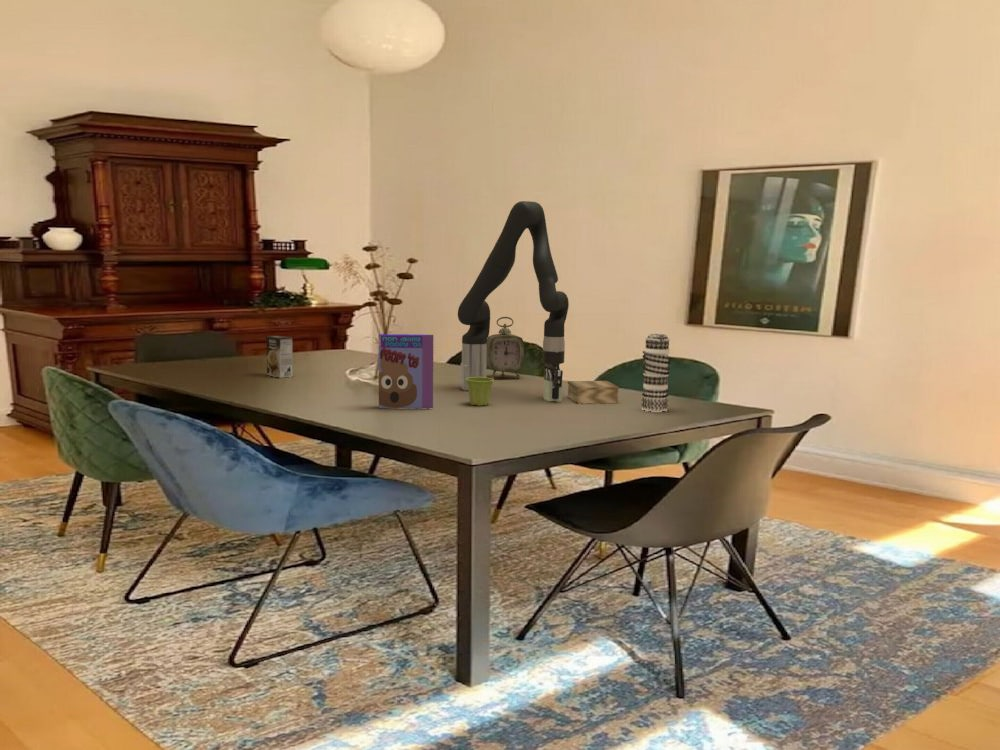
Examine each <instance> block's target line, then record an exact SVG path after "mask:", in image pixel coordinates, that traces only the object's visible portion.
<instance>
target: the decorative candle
mask: <svg viewBox="0 0 1000 750" xmlns="http://www.w3.org/2000/svg"><path fill="white" fill-rule="evenodd" d="M670 341H671V339H670V338H669V337H668V335H666V334H662V333H651V334H649V335H647V338H645V347H644V350H643V351H642V354H643V355H642V358H643V359H644V360H643V361H642V365H643V366H642V369H643V370H644V371H643V372H642V375H643V386H642V387H643V388H641V390H642V393H641V395H642V396H643V397H642V398H641V402H642V403H641V406H642V407H641V410H642V411H643V410H645V411H644V412H648V411H651V412H650V413H663V412H662V411H666V412H668V411H667V410H668V407H669V404H668V402H669V399H668V398H667V397H669V394H668V392H669V388H668V386H669V385H668V377H669V376H670V374H671V373H670V372H669V371H670V370H671V368H670V367H669V365H670V364H671V363H672V362H671V361H670V360H672V358H671V356H669V354H670Z"/></svg>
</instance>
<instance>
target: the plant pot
mask: <svg viewBox="0 0 1000 750" xmlns="http://www.w3.org/2000/svg"><path fill="white" fill-rule="evenodd" d="M466 380H467V384H468V389H469V390H468V397H469V404H470V405H471V406H475V405H476V406H479V407H482V405H485V406H488V405H489V403H490V401H489V400H490V397H491V396H490V395H491V389H492V385H493V382H494V381H495V378H494V379H492V378H491V377H487V376H486V377H470V378H466ZM487 404H488V405H487ZM480 405H481V406H480Z"/></svg>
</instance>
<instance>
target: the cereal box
mask: <svg viewBox="0 0 1000 750" xmlns="http://www.w3.org/2000/svg"><path fill="white" fill-rule="evenodd" d="M379 408H416V409H415V410H419V409H418V408H433V409H434V334H405V333H404V334H399V333H398V334H393V333H392V334H391V333H390V334H389V333H387V334H384V333H383V334H380V333H378V409H379Z"/></svg>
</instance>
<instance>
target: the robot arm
mask: <svg viewBox="0 0 1000 750" xmlns="http://www.w3.org/2000/svg"><path fill="white" fill-rule="evenodd" d="M545 215H546V214H545V210H544V208H543V206H542V205H541V204H540V203H539V202H536V201H530V200H528V201H527V200H525V201H524V200H522V201H518V202H516V203H515V204H514V205H513V206H512V207H511V209H510V211H509V214H508V216H507V218H506V221H505V224H504V226H503V228H502V231H501V233H500V234H499V236H498V238H497V240H496V242H495V245H494V246H493V249H492V250H491V251H490V253H489V254H488V257H487V259H486V260H485V262H484V265H483V267H482V268H481V271H480V272H479V274H478V275H477V277H476V278H475V281H474V283H473V285H472V286H471V288H470V289H469V290H468V292H467V294H466V295H465V296H464V298H463V300H462V301H461V303H460V305H459V307H458V310H457V318H458V321H459V322H460V323H461V324H462V325H465V326H469V329H468V330H467V332H465V333H464V334H463V335H462V336H461V362H460V370H459V371H460V374H459V375H460V376H459V377H460V379H459V380H460V382H459V383H460V387H459V388H460V389H462V391H469V389H468V384H467V380H466V378H470V377H486V378H487V371H488V370H487V367H488V366H487V339H488V336H490V330H491V329H490V327H491V309H490V306H489V303H488V302H487V301H486V299H487V298H488V297H489V295H491V294H492V293H493V292H494V291H495V290H496V289H497V288H498V287H500V286H501V285H502V284H503V282H504V281H505V280H506V279H507V277H508V276H509V274H510V272H511V271H512V269H513V267H514V264H515V262H516V254H517V253H516V251H517V245H518V242H519V240H520V239H521V236H522V235H523V233H524V232H525V231H526V229H528V231H529V233H530V235H531V239H532V245H533V249H532V266H533V270H534V273H535V275H536V280H537V282H538V295H539V301H540V305H541V307H542V309H544V311H545V312H547V313H549V314H548V315H549V316H548V318H547V319H545V321H544V324H543V341H542V363H543V364H546V365H544V366H543V376H544V377H543V378H544V379H543V381H544V380H550V382H552V398H553V399H558V398H559V388H560V387H562V388H563V373H564V372H563V371H564V370H561V369H560V365H561V364H562V365H563V364H564V363H565V354H566V353H565V347H566V346H565V345H566V343H565V342H566V341H565V323H566V320H567V316H568V312H569V311H568V310H569V306H570V303H569V297H568V296H567V294H566V293H565V292H564V291H560V290H557V287H556V284H557V283H558V281H559V277H558V273H557V270H556V266H555V262H554V260H553V256H552V253H551V247H550V242H549V241H550V240H549V236H548V235H549V234H548V230H547V229H548V227H547V221H546V217H545ZM556 383H557V384H556Z"/></svg>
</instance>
